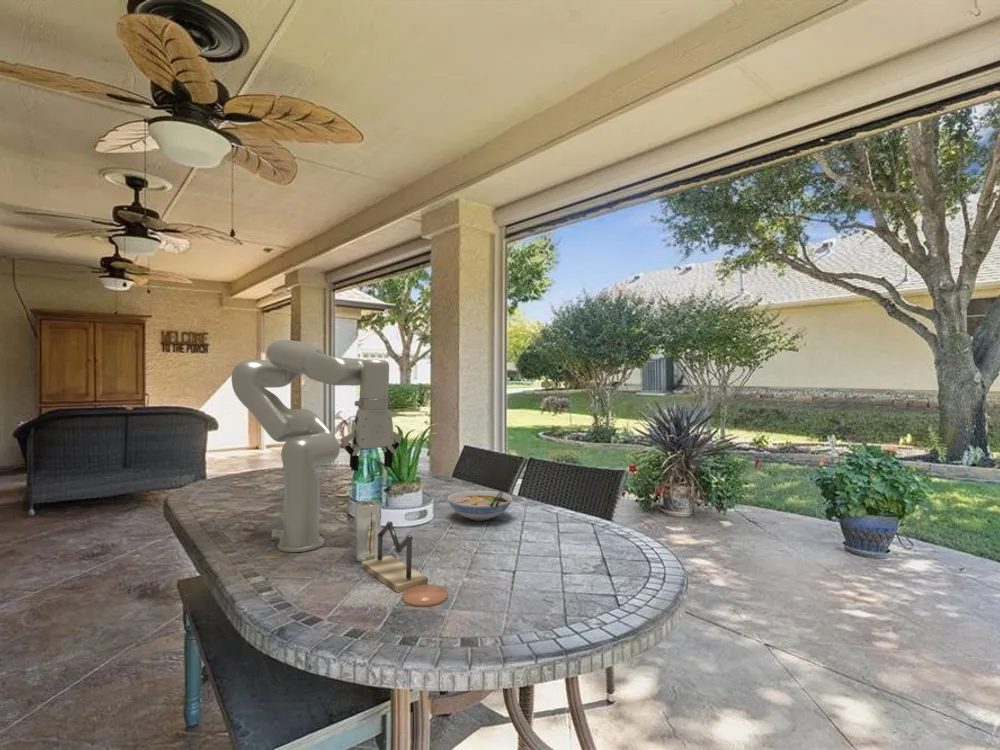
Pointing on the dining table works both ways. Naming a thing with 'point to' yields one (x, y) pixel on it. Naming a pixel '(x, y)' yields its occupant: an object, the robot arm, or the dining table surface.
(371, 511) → the beer glass
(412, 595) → the terracotta coaster
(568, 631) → the dining table surface
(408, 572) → the bent wire
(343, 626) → the dining table surface
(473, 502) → the ramen bowl
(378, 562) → the wire board
